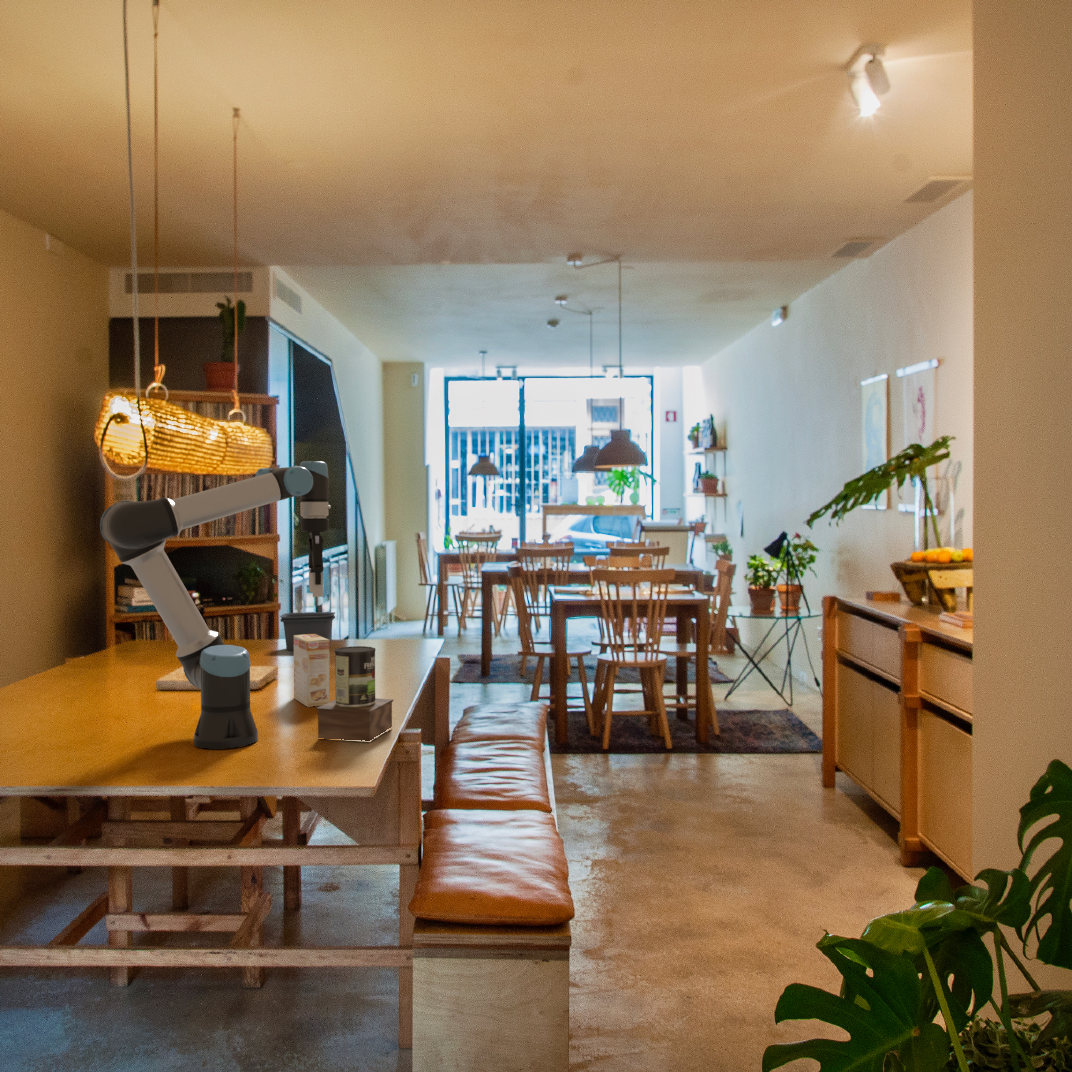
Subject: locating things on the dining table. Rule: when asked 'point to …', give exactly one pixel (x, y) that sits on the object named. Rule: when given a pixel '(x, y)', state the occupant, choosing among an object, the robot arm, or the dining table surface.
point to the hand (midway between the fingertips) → (316, 594)
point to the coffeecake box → (311, 670)
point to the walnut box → (354, 720)
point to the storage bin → (307, 625)
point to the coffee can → (355, 676)
